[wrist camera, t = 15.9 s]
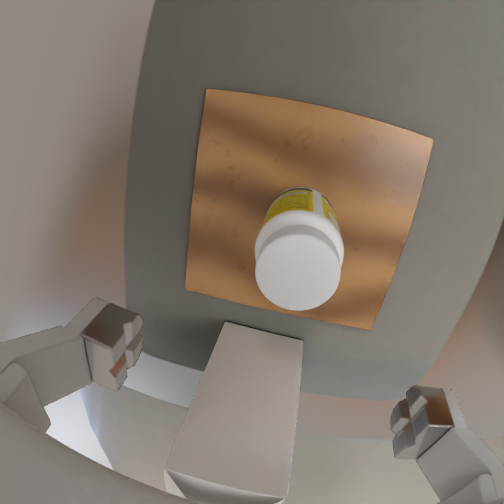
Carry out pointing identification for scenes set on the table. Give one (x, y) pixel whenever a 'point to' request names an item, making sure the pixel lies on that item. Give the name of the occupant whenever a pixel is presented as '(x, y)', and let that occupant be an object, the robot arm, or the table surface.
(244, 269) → the wooden board
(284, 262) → the supplement bottle
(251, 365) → the milk carton
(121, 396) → the table surface
